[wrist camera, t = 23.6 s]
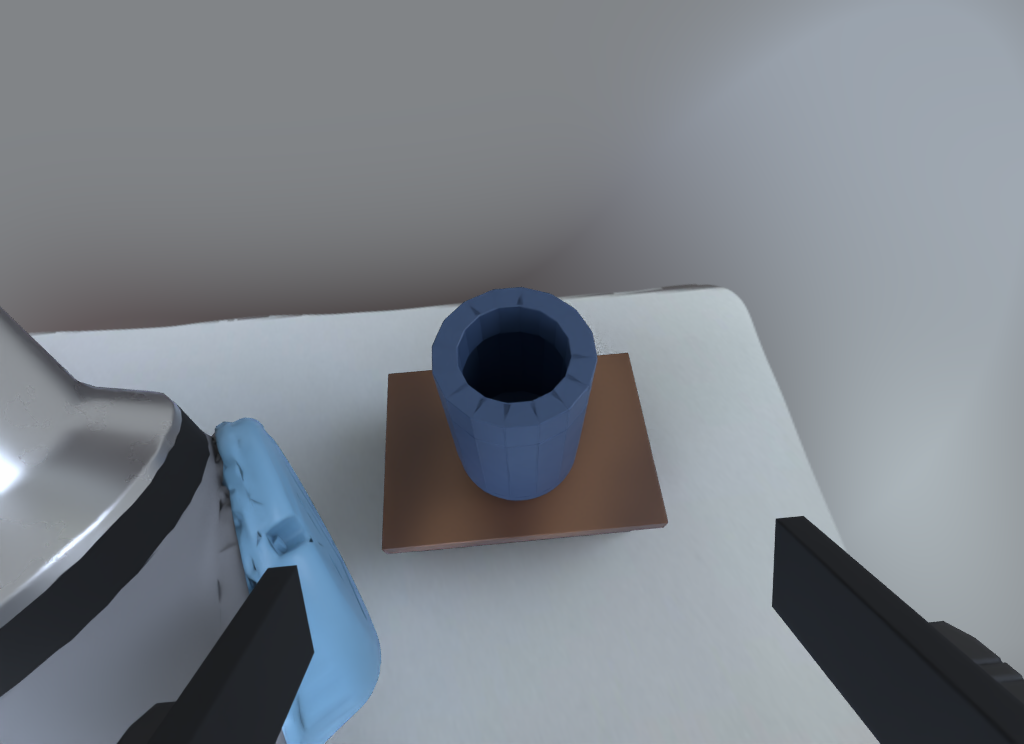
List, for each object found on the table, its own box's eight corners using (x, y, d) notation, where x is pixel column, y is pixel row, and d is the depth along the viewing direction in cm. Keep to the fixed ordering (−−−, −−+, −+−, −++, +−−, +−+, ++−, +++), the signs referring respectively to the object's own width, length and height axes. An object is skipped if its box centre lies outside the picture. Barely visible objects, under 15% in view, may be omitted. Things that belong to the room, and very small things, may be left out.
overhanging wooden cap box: (402, 568, 36) (381, 550, 31) (405, 410, 42) (388, 373, 37) (648, 544, 36) (668, 522, 31) (616, 392, 42) (628, 352, 37)
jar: (461, 506, 32) (432, 434, 22) (456, 396, 36) (431, 294, 26) (585, 494, 32) (610, 418, 22) (567, 386, 36) (582, 281, 26)
